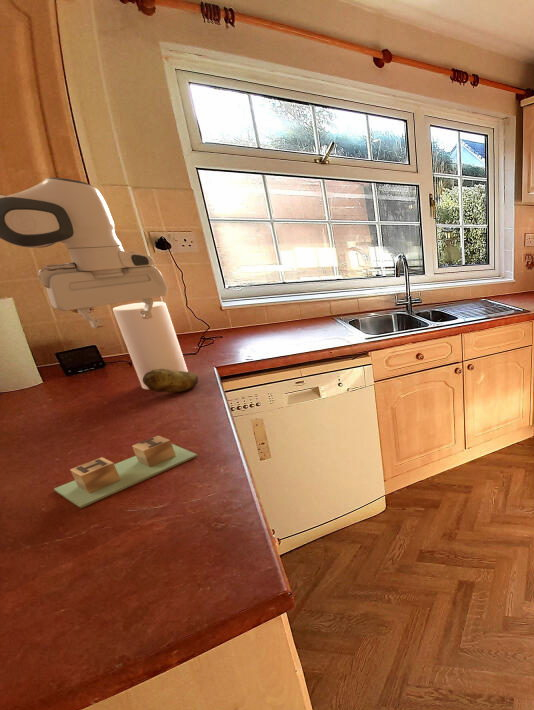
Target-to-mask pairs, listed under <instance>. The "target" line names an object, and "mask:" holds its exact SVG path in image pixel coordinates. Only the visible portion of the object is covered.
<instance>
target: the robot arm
mask: <svg viewBox="0 0 534 710" xmlns="http://www.w3.org/2000/svg"><path fill="white" fill-rule="evenodd" d="M0 239H1V240H2V241H5V242H7V243H8V244H11V245H14V246H17V247H21V248H28V249H39V248H40V249H41V248H47V247H51V246H53V245H56V244H57V243H62V244H64V245H65V248H66V249H67V252H68V255H69V257H70V260H71V262H67V263H60V264H46V265H44V267H42V268H40V269H39V271H38V272H37V275H38V278H39V281H40V283H41V284H42V285H43V286H44V287H45V289H46V293H47V297H48V300H49V303H50V305H51V307H52V308H54V309H55V310H57V311H61V312H69V311H75V310H77V312H78V314H79V315H81V316H82V317H83V318H85V319H86V320H87V321H89V324H90V326H91V328H92V329H98V328H103V327H104V324H103V321H102V319H101V318H94V317H93V316H92V315H91V314H90V313H92V312H91V309H90V308H95V307H101V306H108V305H115V304H121V303H128V302H133V301H134V302H135V301H141V303H145V306H144V310H143V311H140V314H141V316H142V318H143V319H148V318H152V314H151V311H150V310H151V309H152V306H153V302H154V300H153V298H161V297H166V296H167V294H168V292H169V290H168V285H167V284H166V281H165V279H164V276H163V275H162V273H161V271H160V270H159V268H157V267H156V266H153V265H154V264H155V260H154V258H153V257H152V255H147V254H141V253H137V252H136V253H135V252H133V251H125V250H124V247H123V245H122V243H121V241H120V239H118V237H117V235H116V229H115V221H114V220H113V216H112V214H111V211H110V209H109V206H108V204H107V202H106V200H105V199H104V197H103V195H102V194H101V192H100V191H99V189H97V188H96V187H95V186H93V185H92V184H89V183H88V182H85V181H81V180H76V179H71V178H64V177H53V176H51V177H46V178H44V179H43V180H42V181H41V182H39V183H38V184H35V185H34V186H31V187H29V188H27V189H24V190H22V191H19V192H15V193H11V194H8V195H7V194H1V193H0Z"/></svg>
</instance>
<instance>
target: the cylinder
mask: <svg viewBox="0 0 534 710" xmlns="http://www.w3.org/2000/svg"><path fill="white" fill-rule="evenodd" d="M144 306H145V303H142V302H134V303H127V304H122V305H118V306H115V307H112V311H113V314H114V317H115V319H116V322H117V325H118V327H119V330H120V333H121V335H122V338H123V341H124V344H125V346H126V349H127V352H128V354H129V357H130V359H131V362H132V365H133V368H134V370H135V372H136V376H137V378H138V381H139V383H140V386H141V388H142V389H144V390H150V389H148V387H147V386H146V385H145V384H144V383H143V377H144V375H145V374H146V373H147V372H149V371H151V370H155V369H168V370H173V371H186V372H189V370H188V367H187V364H186V361H185V358H184V355H183V352H182V348H181V345H180V342H179V340H178V336H177V333H176V330H175V328H174V327H175V326H174V324H173V322H172V318H171V315H170V313H169V309H168V307H167V306H168V305H167V304H166V302H164V301H153V306H152V309H151V310H150V311H151V314H152V318H148V319H143V318H142V316H141V314H140V311H143V310H144ZM150 391H151V390H150Z"/></svg>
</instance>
